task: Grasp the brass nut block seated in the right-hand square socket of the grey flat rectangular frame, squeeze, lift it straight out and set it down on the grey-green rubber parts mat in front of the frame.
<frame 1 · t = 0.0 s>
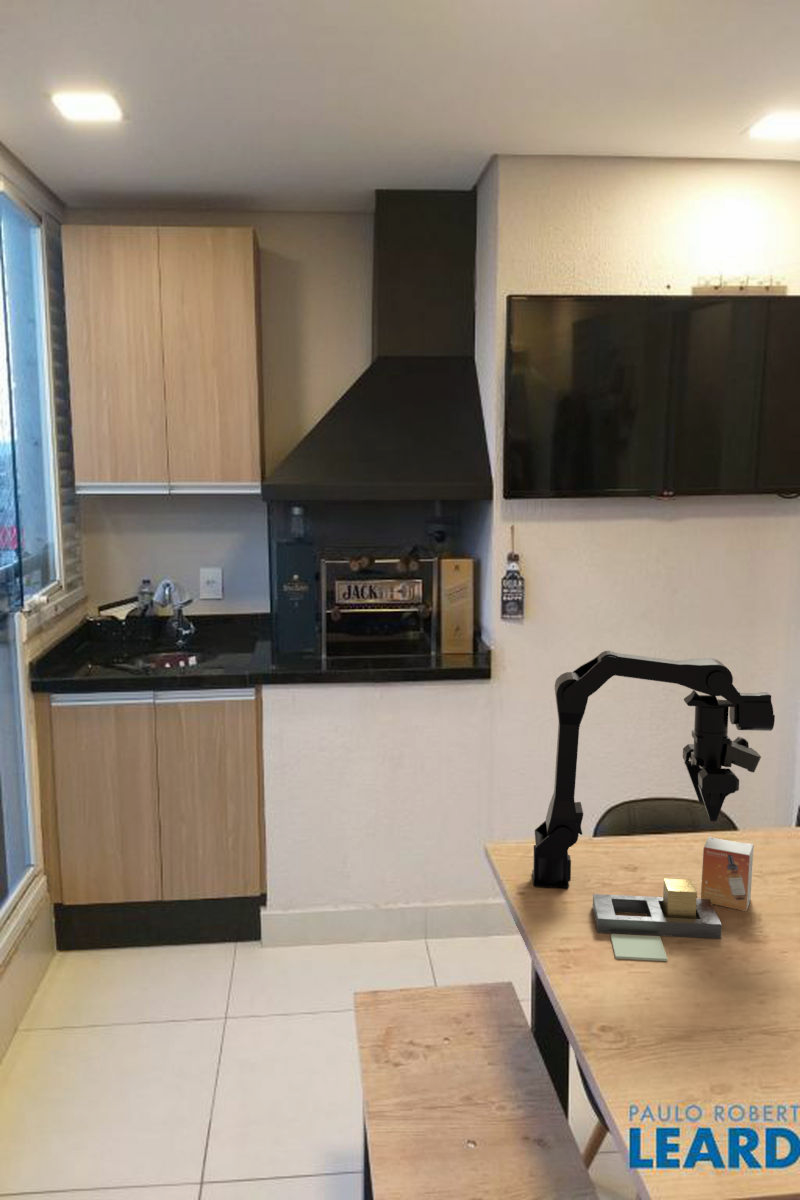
hand: (707, 811, 166), 15 cm above the table, fingers open, 9 cm apart
grey flat rectangular frame: (654, 922, 155), on the table
nut block: (678, 923, 154), resting in grey flat rectangular frame
parts mat: (638, 948, 146), on the table
small box: (725, 901, 162), on the table
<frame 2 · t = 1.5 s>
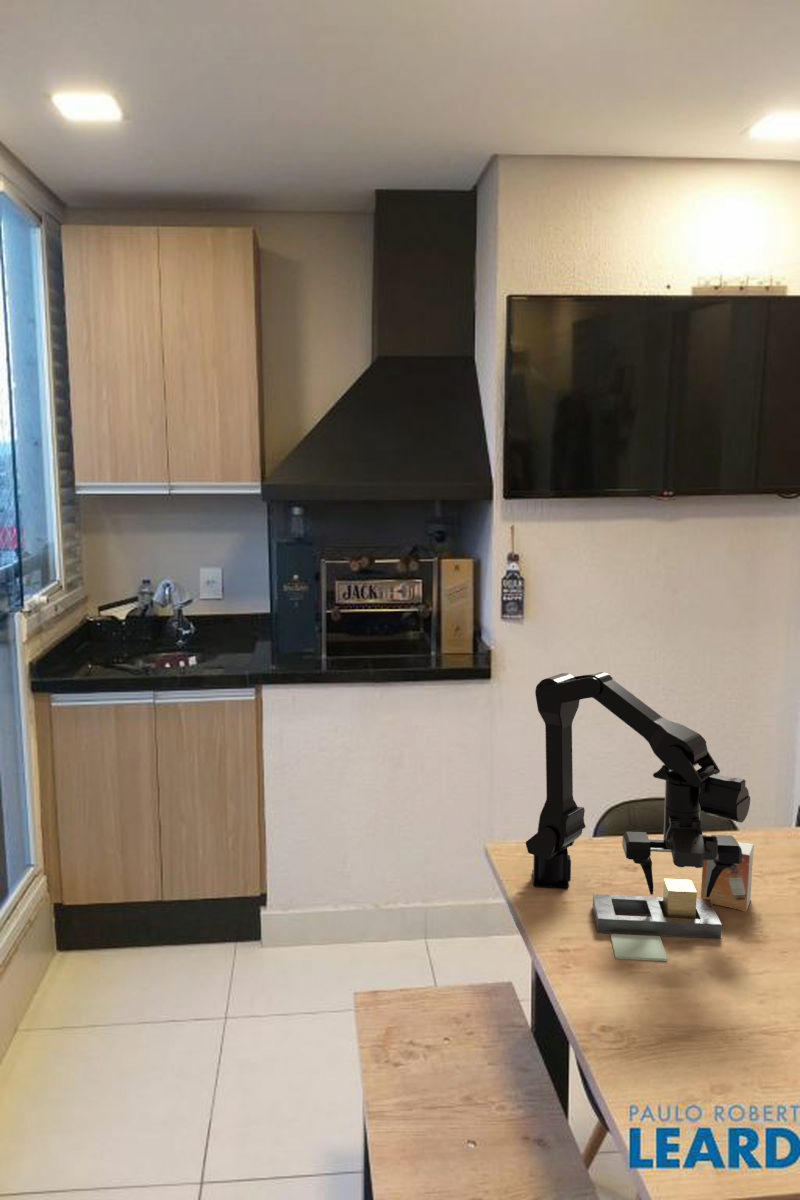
hand: (679, 895, 154), 5 cm above the table, fingers open, 9 cm apart
nothing on the table moved.
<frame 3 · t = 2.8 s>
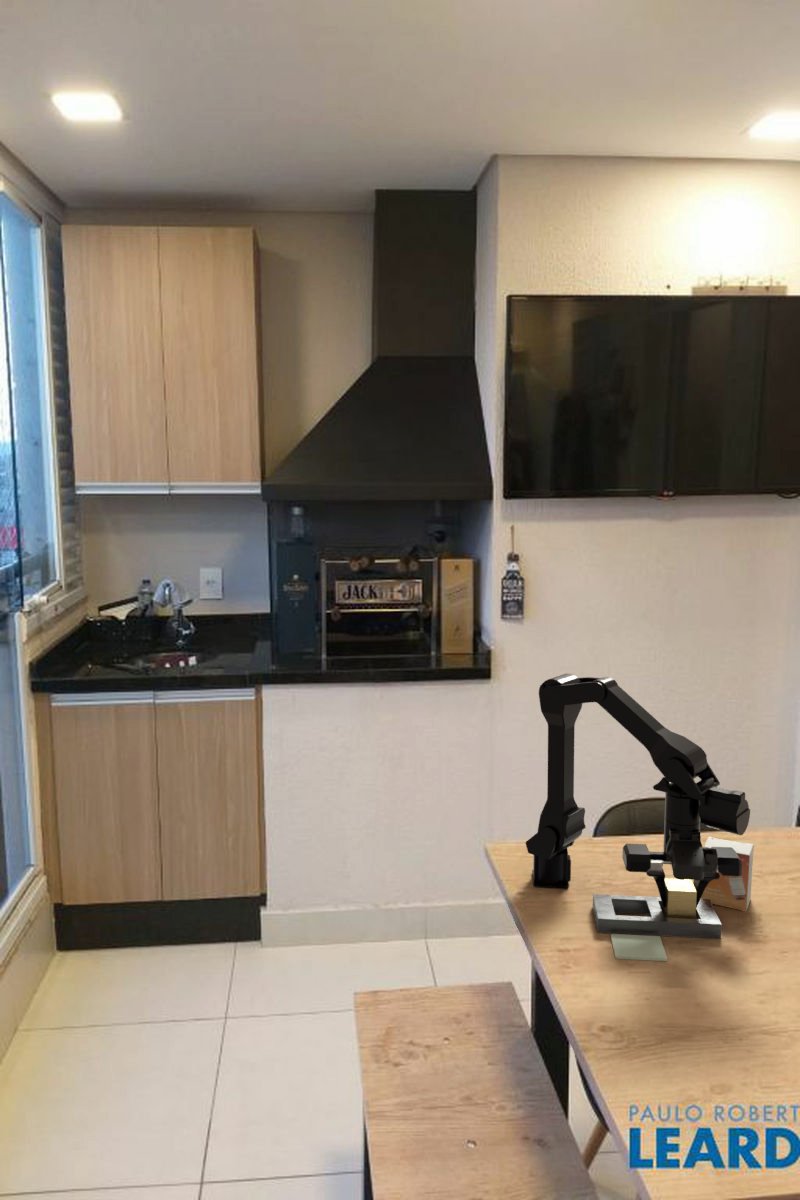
hand: (679, 906, 154), 3 cm above the table, fingers closed on nut block, 5 cm apart
nut block: (678, 923, 154), resting in grey flat rectangular frame, touching gripper
everything else where it was.
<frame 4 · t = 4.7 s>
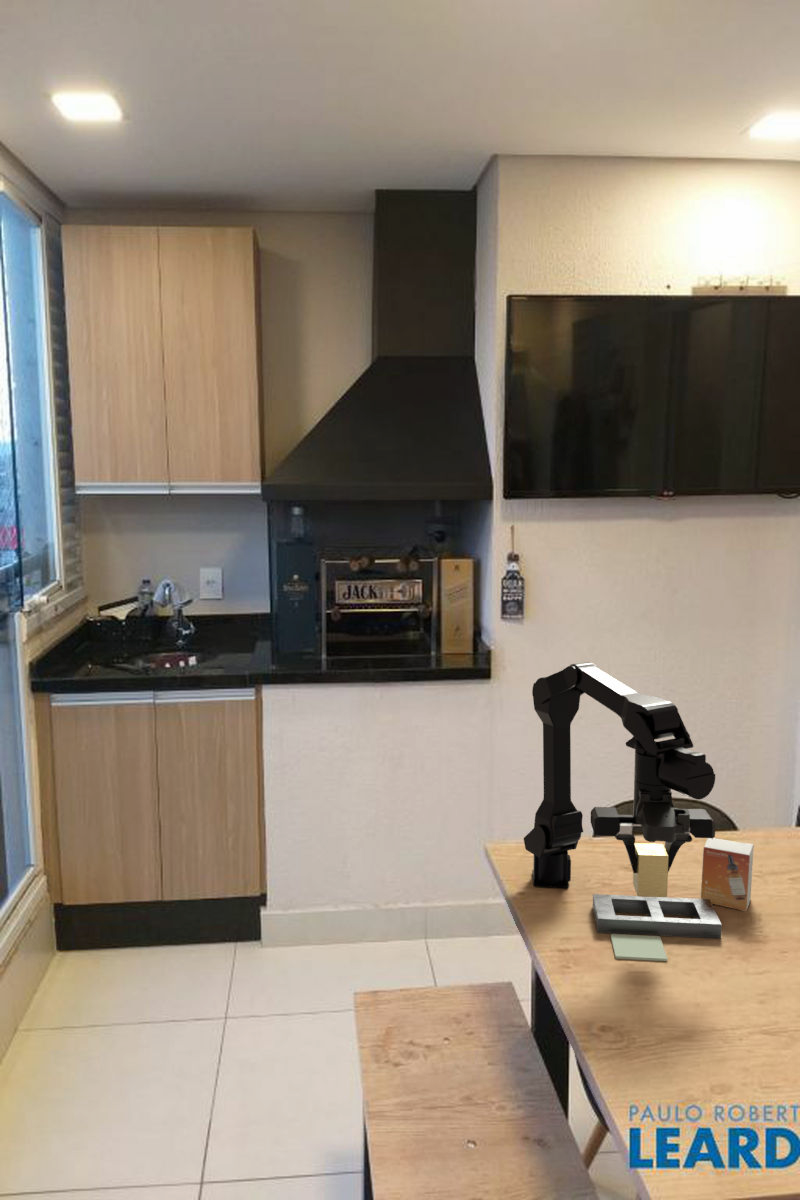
hand: (650, 872, 146), 12 cm above the table, fingers closed on nut block, 5 cm apart
nut block: (649, 890, 147), point 9 cm above the table, touching gripper
everything else where it was.
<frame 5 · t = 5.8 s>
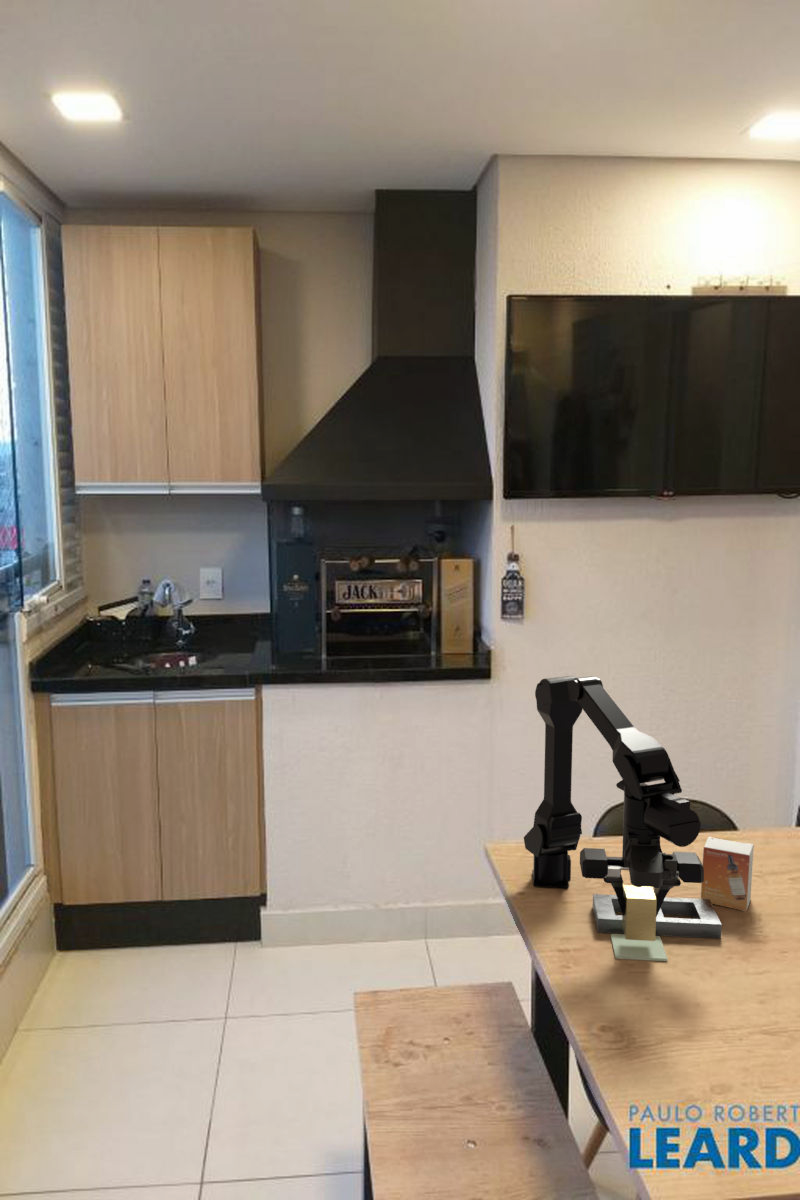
hand: (638, 915, 146), 6 cm above the table, fingers closed on nut block, 5 cm apart
nut block: (638, 932, 146), point 3 cm above the table, touching gripper
everything else where it was.
when the fingers open (5 cm above the table, at t = 6.7 s): nut block drops 1 cm, resting on parts mat.
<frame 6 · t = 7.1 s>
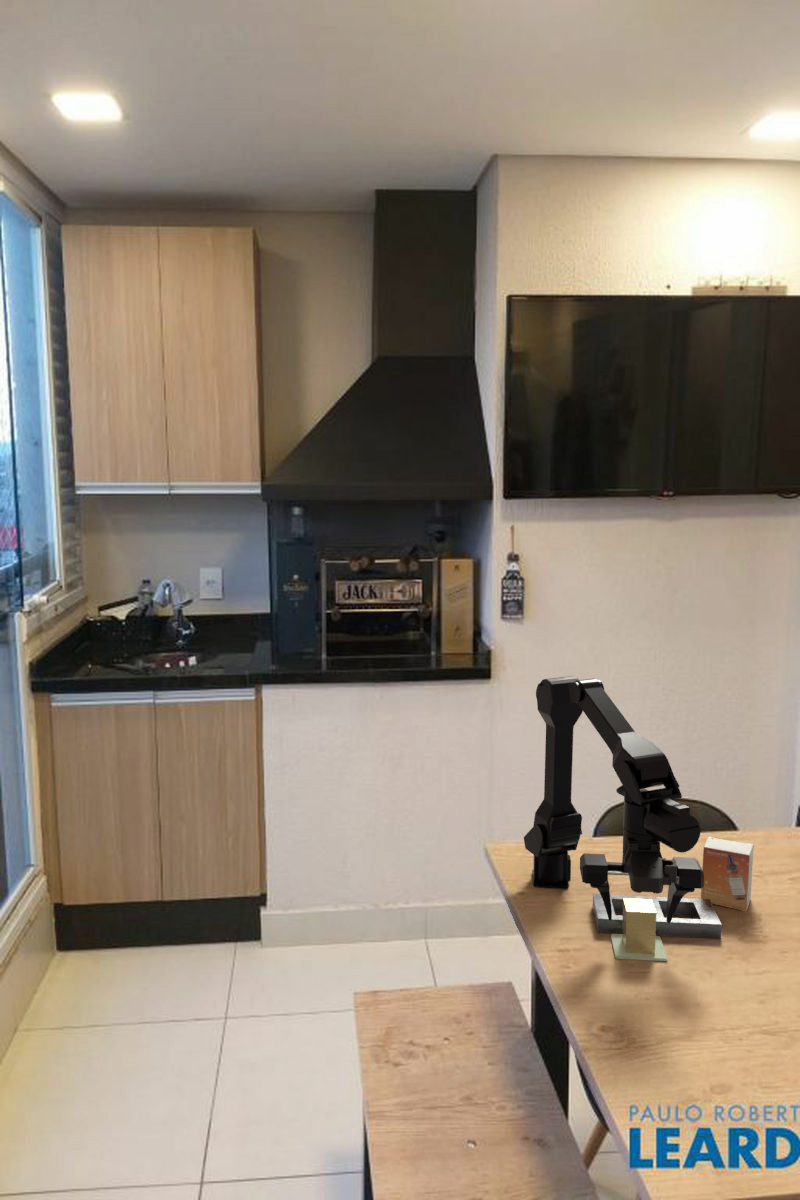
hand: (638, 920, 146), 5 cm above the table, fingers open, 9 cm apart
nut block: (638, 946, 146), resting on parts mat
everything else where it was.
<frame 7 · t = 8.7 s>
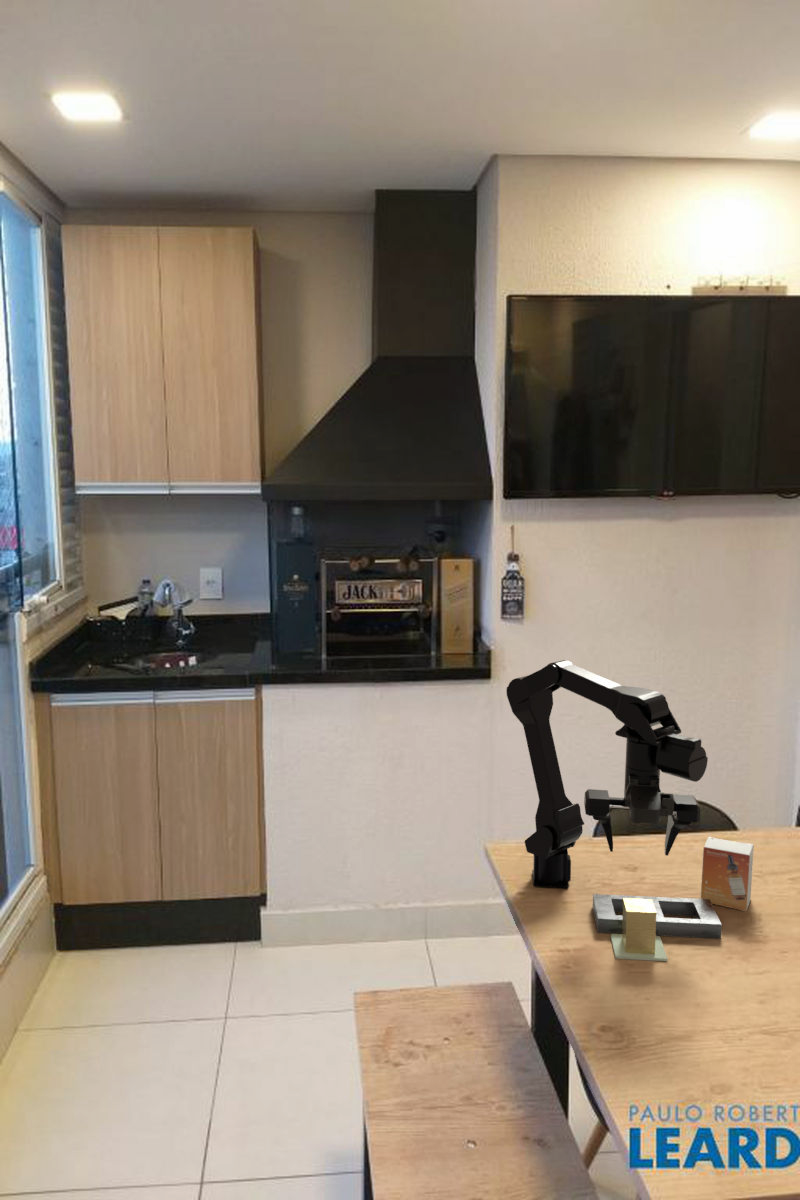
hand: (638, 852, 155), 12 cm above the table, fingers open, 9 cm apart
nothing on the table moved.
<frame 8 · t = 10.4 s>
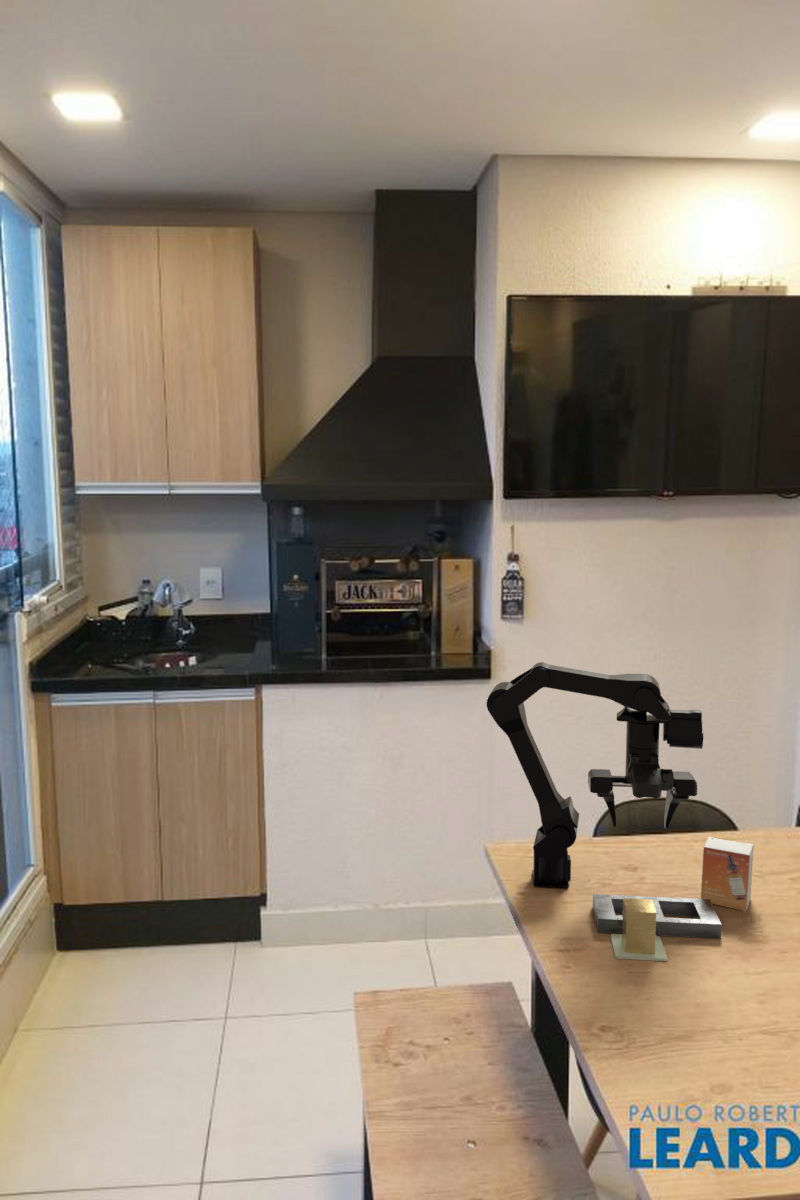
hand: (640, 827, 165), 12 cm above the table, fingers open, 9 cm apart
nothing on the table moved.
at the end: nut block inside the target area on the parts mat (0.0 cm from its centre), point 0.4 cm above the parts mat's base; nut block tilted 0°; nut block touching parts mat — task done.
